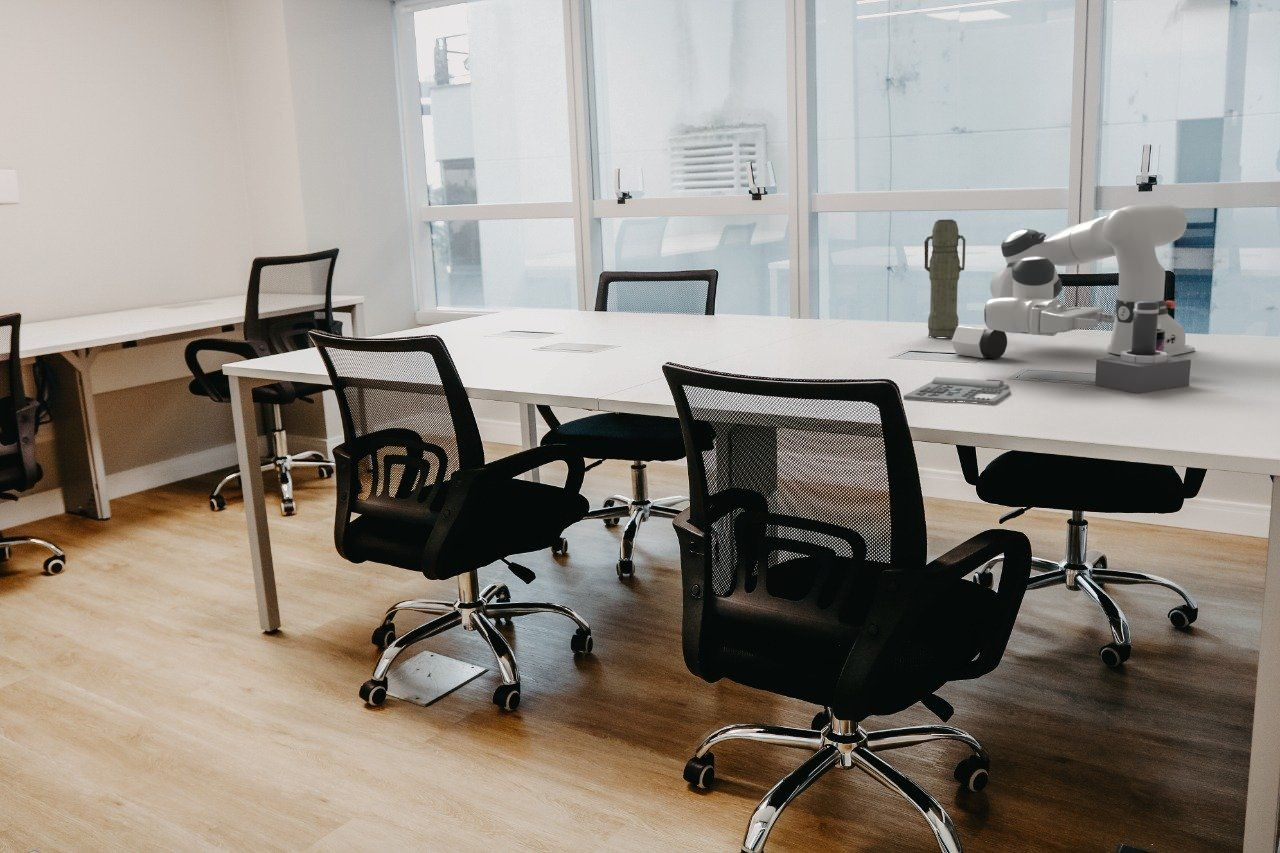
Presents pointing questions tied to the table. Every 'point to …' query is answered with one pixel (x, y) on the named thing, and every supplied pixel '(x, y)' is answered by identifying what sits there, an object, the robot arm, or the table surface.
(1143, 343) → the lens
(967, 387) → the office telephone
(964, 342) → the jar
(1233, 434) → the table surface
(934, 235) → the thermos
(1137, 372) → the camera body
